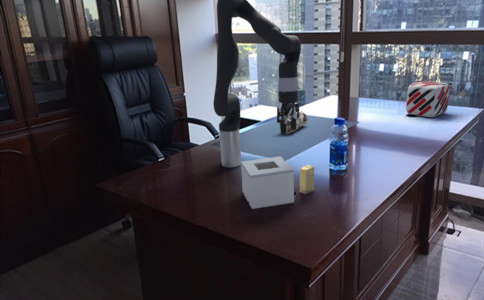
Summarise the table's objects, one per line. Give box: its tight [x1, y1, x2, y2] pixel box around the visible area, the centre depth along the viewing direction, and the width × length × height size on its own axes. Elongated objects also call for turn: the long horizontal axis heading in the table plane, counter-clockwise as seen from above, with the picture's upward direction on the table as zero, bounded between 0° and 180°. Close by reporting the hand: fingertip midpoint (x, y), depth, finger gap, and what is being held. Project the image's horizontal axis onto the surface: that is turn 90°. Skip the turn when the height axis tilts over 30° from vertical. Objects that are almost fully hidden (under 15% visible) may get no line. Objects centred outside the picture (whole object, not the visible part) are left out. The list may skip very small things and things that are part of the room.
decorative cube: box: [405, 80, 451, 118], centre depth 253 cm, size 20×20×20 cm
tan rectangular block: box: [299, 164, 315, 195], centre depth 154 cm, size 3×5×10 cm, turn 133°
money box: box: [240, 156, 295, 210], centre depth 151 cm, size 15×16×13 cm
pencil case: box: [279, 110, 308, 135], centre depth 237 cm, size 22×8×10 cm, turn 146°
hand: (288, 131), depth 156 cm, fingers open, 8 cm apart
